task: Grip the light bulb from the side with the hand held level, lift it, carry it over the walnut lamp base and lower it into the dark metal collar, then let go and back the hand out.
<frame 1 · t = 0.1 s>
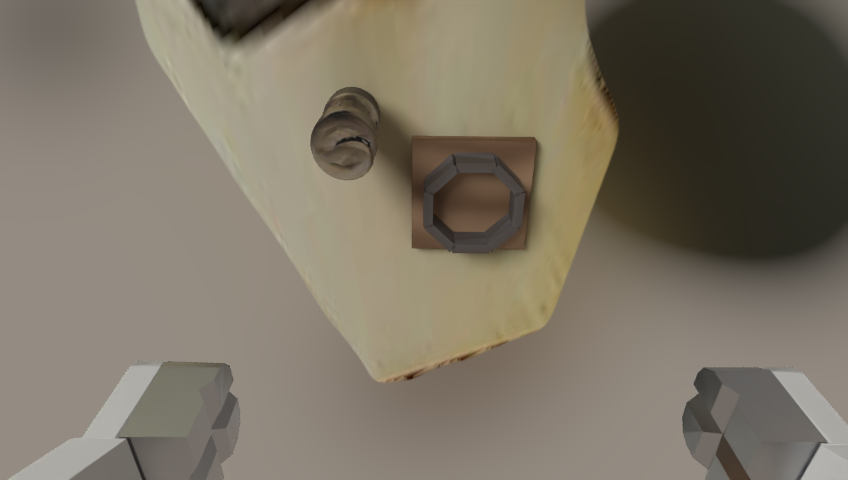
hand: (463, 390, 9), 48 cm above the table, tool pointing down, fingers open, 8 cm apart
light bulb: (359, 101, 55), on the table
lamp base: (469, 192, 60), on the table
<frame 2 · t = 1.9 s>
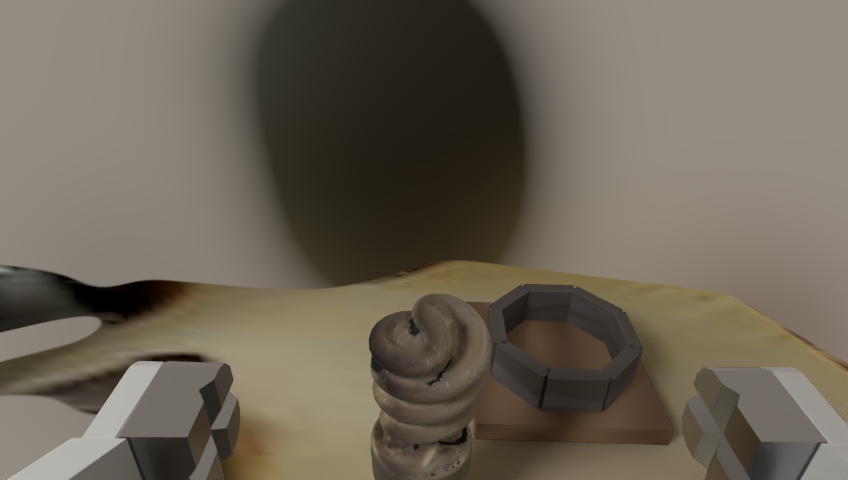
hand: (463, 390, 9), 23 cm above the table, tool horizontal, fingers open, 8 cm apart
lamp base: (552, 371, 42), on the table
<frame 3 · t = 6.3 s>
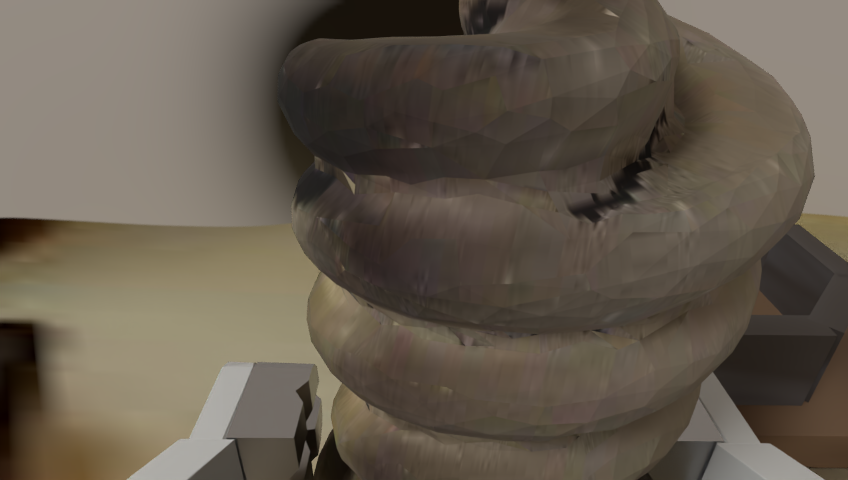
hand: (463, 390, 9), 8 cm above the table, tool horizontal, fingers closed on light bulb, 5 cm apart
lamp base: (668, 336, 23), on the table
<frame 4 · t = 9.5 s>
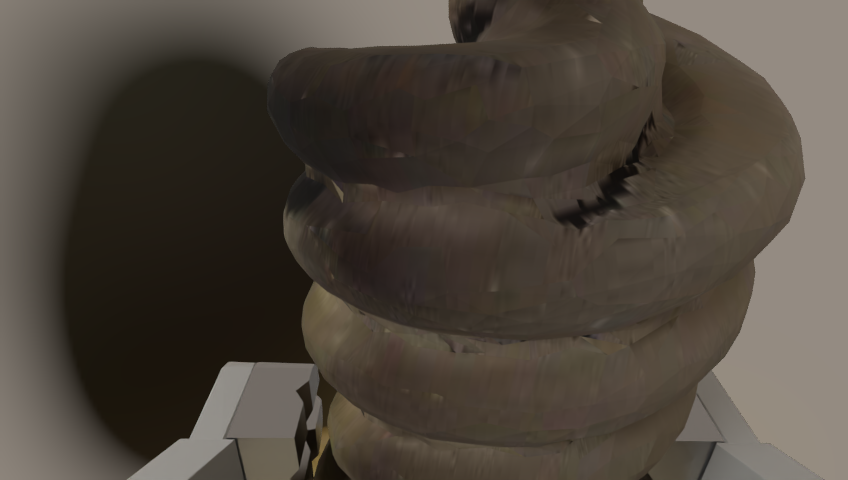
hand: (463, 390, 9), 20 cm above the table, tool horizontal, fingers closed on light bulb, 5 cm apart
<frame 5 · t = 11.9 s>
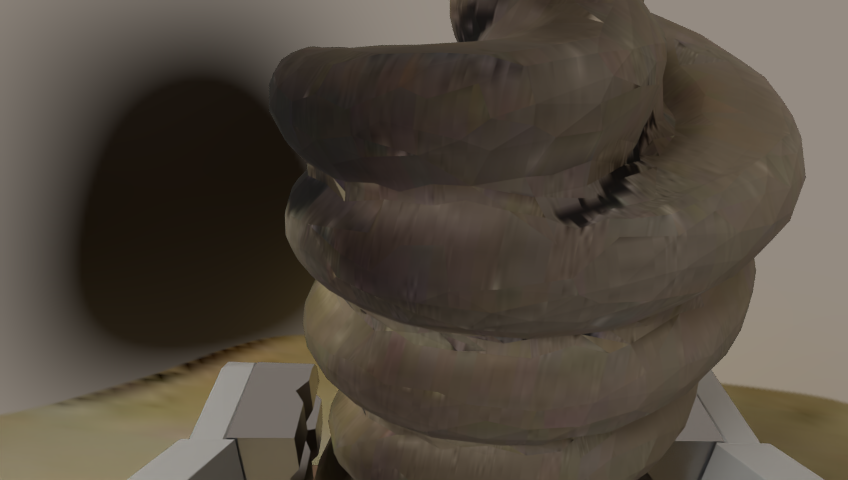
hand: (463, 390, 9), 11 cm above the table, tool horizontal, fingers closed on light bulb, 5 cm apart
when the fingers open (11 cm above the table, at t = 12.7 s): light bulb drops 1 cm, resting on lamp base.
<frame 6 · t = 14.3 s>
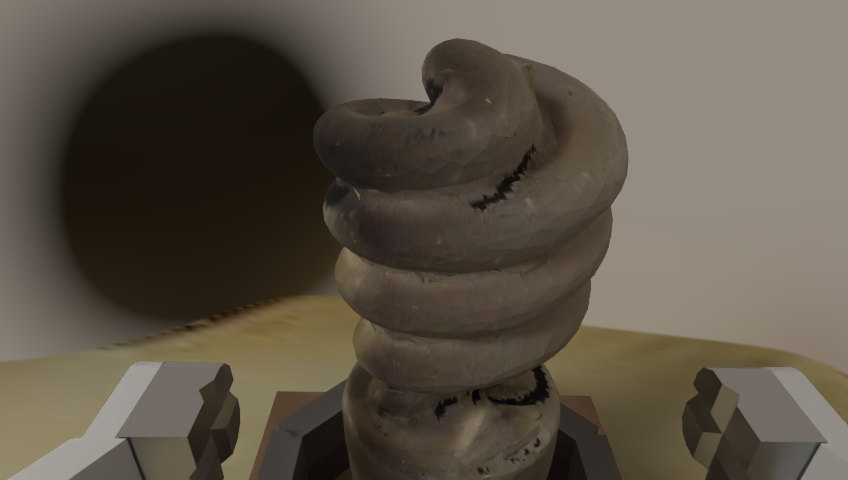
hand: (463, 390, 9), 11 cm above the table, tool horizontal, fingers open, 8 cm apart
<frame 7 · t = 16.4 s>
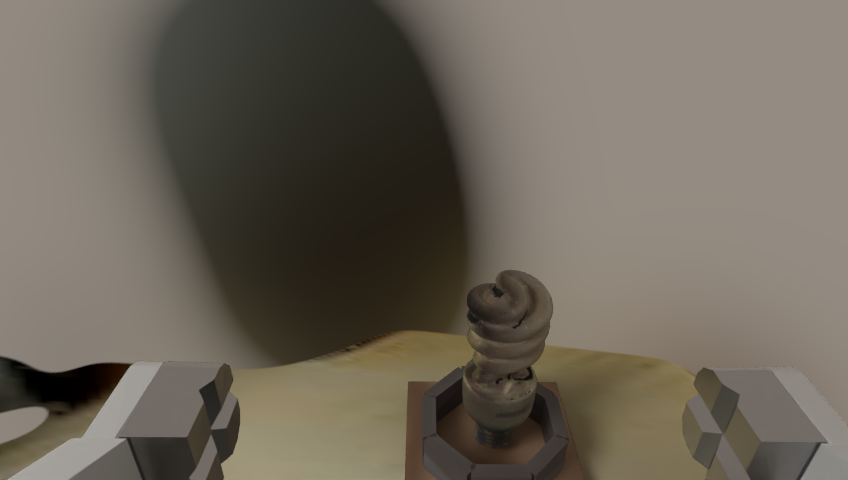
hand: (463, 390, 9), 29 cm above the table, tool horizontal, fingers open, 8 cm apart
light bulb: (495, 445, 42), point 1 cm above the table, touching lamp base
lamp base: (488, 455, 42), on the table
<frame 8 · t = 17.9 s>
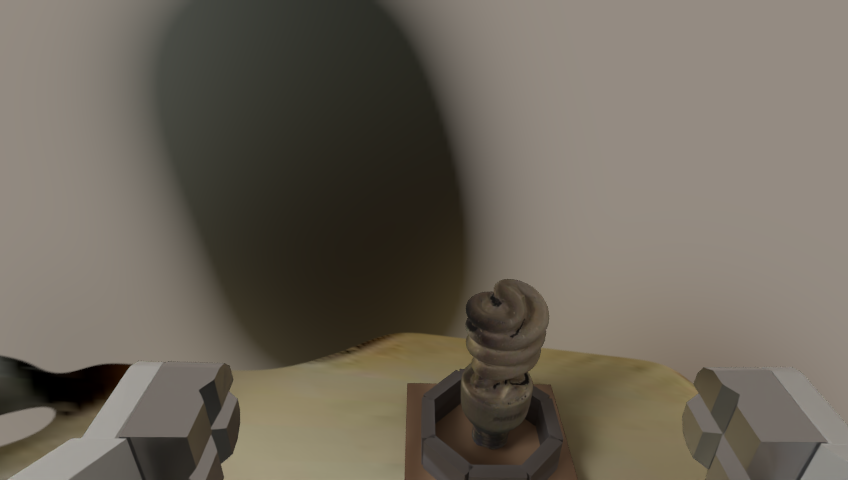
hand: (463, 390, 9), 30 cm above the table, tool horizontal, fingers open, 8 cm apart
light bulb: (492, 445, 43), point 1 cm above the table, touching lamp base
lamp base: (485, 455, 44), on the table
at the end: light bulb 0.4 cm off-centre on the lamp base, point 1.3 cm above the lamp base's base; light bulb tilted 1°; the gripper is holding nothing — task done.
